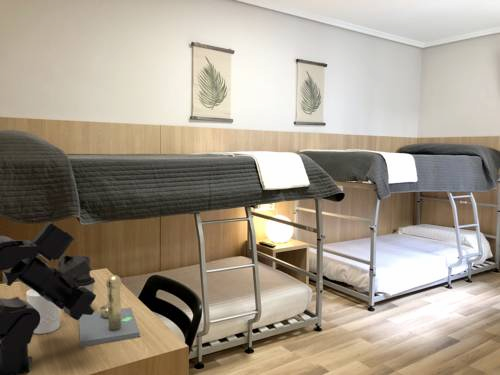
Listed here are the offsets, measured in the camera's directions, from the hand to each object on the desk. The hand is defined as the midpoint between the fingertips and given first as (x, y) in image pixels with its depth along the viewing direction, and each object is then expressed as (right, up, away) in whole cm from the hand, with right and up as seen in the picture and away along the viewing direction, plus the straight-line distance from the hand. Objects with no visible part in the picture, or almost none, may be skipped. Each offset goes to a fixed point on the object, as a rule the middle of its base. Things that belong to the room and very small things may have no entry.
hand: (92, 312), depth 100 cm
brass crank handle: (+2, -5, +9) cm, 10 cm away
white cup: (-15, -7, +8) cm, 18 cm away
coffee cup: (-10, -5, +19) cm, 22 cm away
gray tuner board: (+1, -6, +8) cm, 11 cm away
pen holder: (-19, -4, +36) cm, 41 cm away
